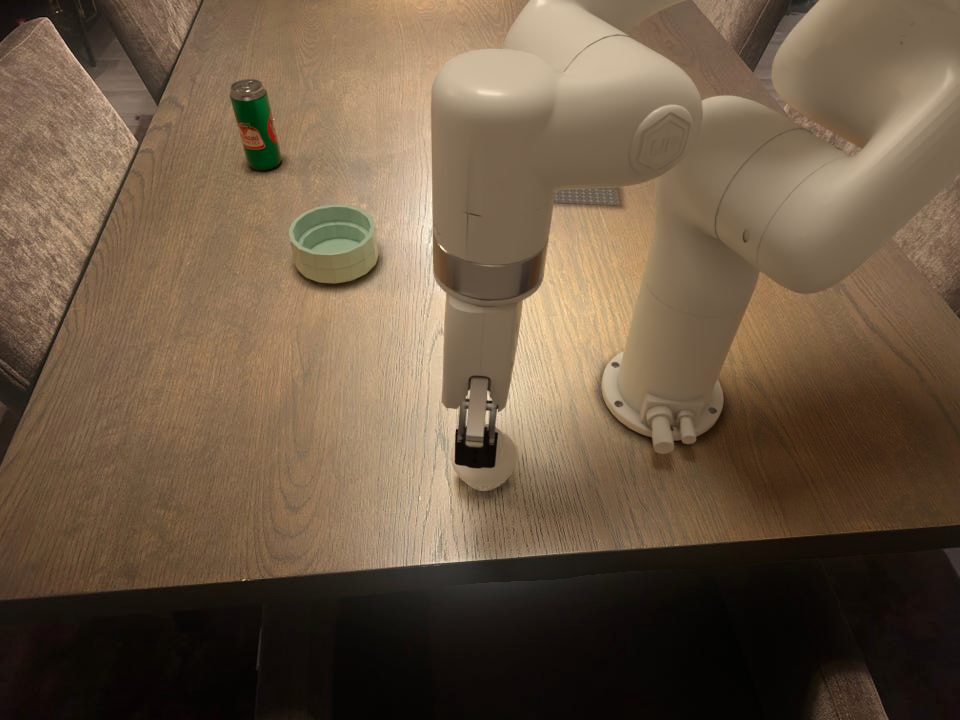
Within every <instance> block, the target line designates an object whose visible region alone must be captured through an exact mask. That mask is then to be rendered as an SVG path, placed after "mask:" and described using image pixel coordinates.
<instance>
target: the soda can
mask: <svg viewBox="0 0 960 720" xmlns="http://www.w3.org/2000/svg"><path fill="white" fill-rule="evenodd" d="M229 99H230V103H231V106H232V110H233V113H234V118H235V122H236V125H237V129H238V132H239V138H240V142H241V144H242V147H243V153H244V156H245V160H246V162H247V165H248V166H249V167H250V168H252V169H254V170H256V171H270V170H273V169H275V168H277V167H278V166H279V165H280V164H281V162H282V159H283V158H282V154H281V148H280V145H279V140H278V136H277V130H276V125H275V122H274V117H273V113H272V112H273V111H272V108H271V103H270V100H269V95H268V90H267V89H266V88H265V87H264V85H263V82H262V81H260V80H258V79H254V78H253V79H252V78H246V79H240V80H237V81H235V82H233V83H231V85H230V92H229Z"/></svg>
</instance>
